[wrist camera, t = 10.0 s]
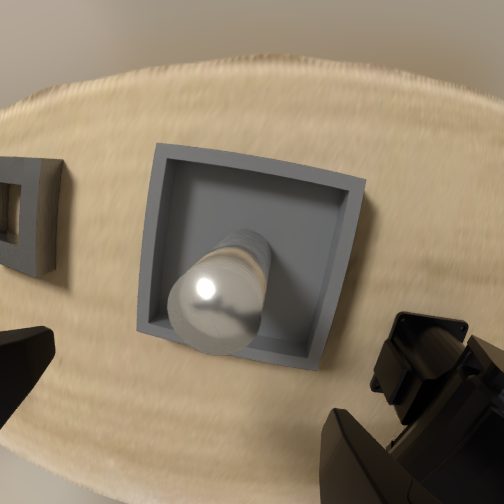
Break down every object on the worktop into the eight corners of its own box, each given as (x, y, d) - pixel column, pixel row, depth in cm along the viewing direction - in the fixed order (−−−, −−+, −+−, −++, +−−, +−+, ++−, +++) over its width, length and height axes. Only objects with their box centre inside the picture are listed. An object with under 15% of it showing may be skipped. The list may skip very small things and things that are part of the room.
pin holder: (62, 159, 19) (42, 158, 17) (55, 269, 21) (36, 277, 19) (0, 156, 20) (-19, 156, 17) (-5, 249, 22) (-23, 254, 19)
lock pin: (276, 234, 19) (270, 278, 10) (265, 285, 19) (251, 363, 10) (223, 224, 19) (172, 257, 10) (214, 275, 19) (164, 342, 11)
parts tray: (355, 180, 18) (366, 179, 16) (313, 351, 20) (316, 370, 18) (171, 147, 19) (156, 142, 16) (150, 316, 21) (136, 331, 19)
